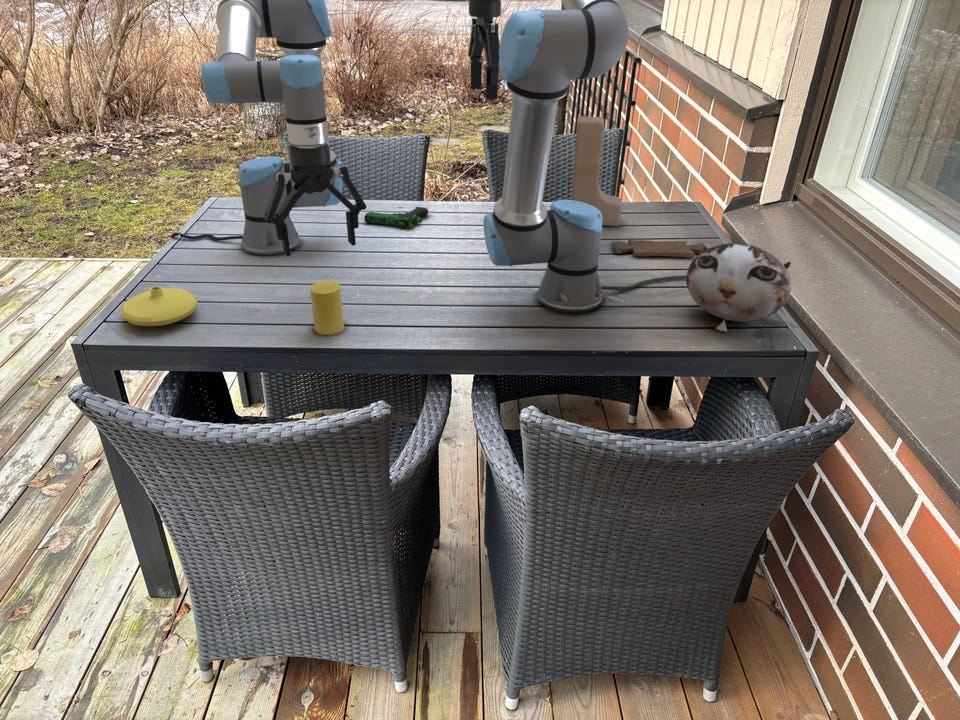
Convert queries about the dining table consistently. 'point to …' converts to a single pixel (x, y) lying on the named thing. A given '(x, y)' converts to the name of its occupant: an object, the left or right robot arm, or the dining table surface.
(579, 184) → the decorative block
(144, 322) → the vase
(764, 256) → the plush toy
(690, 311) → the dining table surface
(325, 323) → the tin
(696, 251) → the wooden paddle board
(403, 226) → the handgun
